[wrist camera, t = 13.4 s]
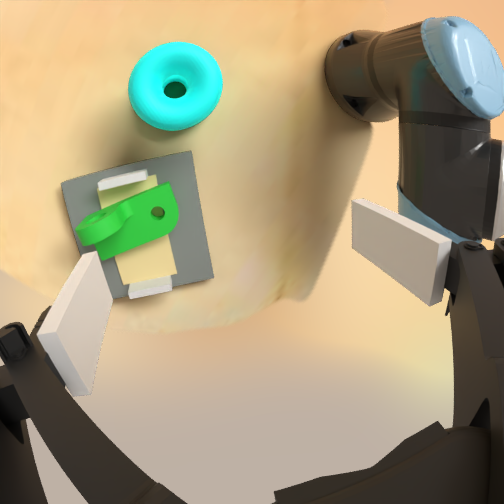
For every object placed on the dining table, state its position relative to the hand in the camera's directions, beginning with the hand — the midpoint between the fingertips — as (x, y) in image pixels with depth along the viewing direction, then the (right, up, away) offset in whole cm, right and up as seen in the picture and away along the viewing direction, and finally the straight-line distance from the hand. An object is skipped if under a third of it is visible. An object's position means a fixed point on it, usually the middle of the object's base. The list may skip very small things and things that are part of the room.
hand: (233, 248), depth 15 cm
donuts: (-9, +20, +22) cm, 31 cm away
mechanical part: (-14, +4, +24) cm, 28 cm away
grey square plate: (-15, +3, +27) cm, 31 cm away
